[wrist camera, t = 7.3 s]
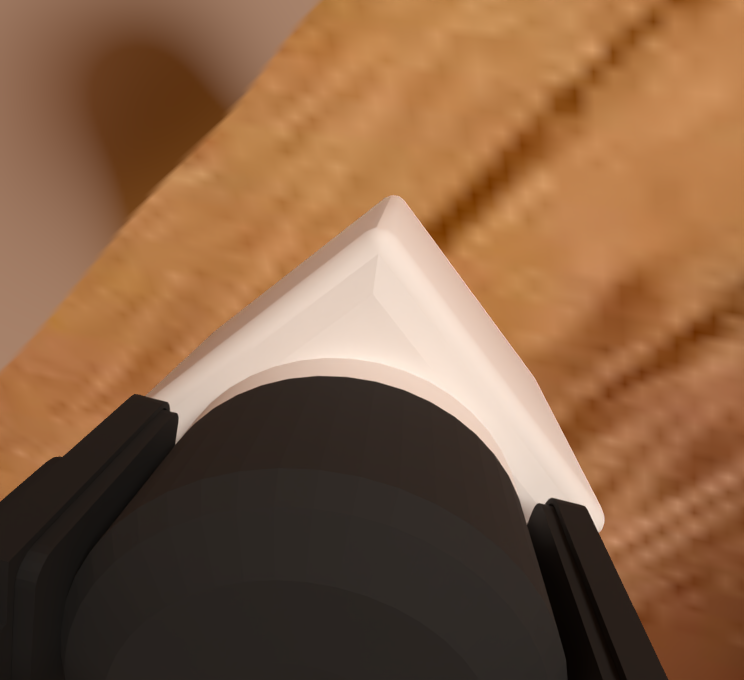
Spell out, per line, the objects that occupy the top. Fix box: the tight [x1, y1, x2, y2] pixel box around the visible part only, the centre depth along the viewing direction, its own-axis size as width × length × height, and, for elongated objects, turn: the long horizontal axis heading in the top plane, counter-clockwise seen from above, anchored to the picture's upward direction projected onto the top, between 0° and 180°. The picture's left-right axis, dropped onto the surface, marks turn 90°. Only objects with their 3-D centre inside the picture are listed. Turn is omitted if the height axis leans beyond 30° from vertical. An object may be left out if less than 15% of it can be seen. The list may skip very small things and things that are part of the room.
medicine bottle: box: [61, 195, 604, 680], centre depth 12 cm, size 7×7×12 cm
